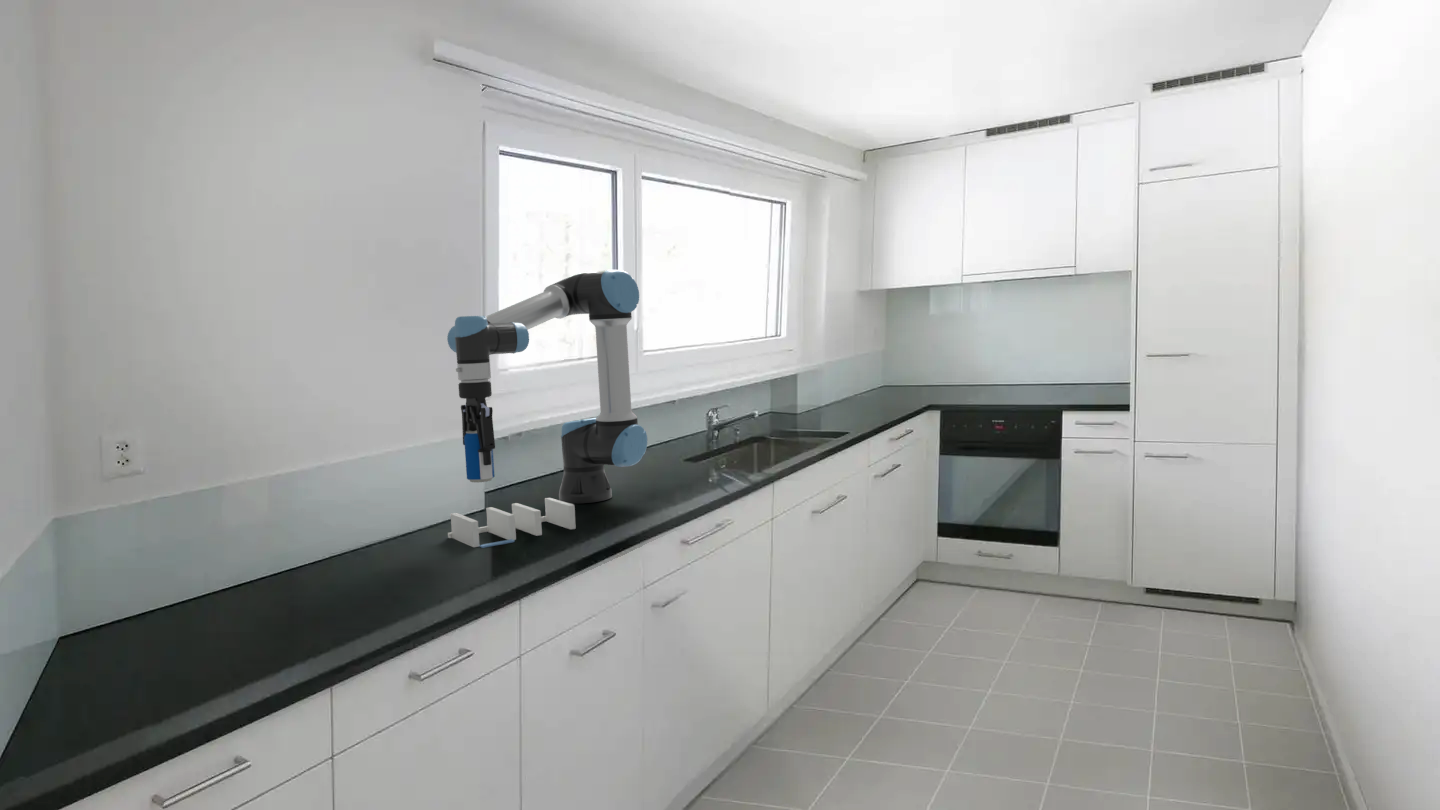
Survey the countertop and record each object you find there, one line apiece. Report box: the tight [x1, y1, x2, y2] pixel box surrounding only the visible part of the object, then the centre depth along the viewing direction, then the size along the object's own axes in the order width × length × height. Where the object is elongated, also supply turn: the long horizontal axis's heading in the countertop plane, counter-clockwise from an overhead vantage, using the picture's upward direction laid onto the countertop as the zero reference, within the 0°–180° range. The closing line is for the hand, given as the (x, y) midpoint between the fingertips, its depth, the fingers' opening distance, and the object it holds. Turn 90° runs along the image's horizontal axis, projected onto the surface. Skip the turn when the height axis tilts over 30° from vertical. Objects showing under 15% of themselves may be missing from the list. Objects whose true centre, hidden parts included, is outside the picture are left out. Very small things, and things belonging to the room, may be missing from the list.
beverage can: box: [464, 430, 496, 483], centre depth 232 cm, size 6×6×12 cm
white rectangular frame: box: [447, 497, 577, 548], centre depth 239 cm, size 28×14×6 cm, turn 126°
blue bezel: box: [479, 539, 515, 549], centre depth 228 cm, size 8×2×1 cm, turn 126°
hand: (480, 476), depth 233 cm, fingers closed on beverage can, 6 cm apart
